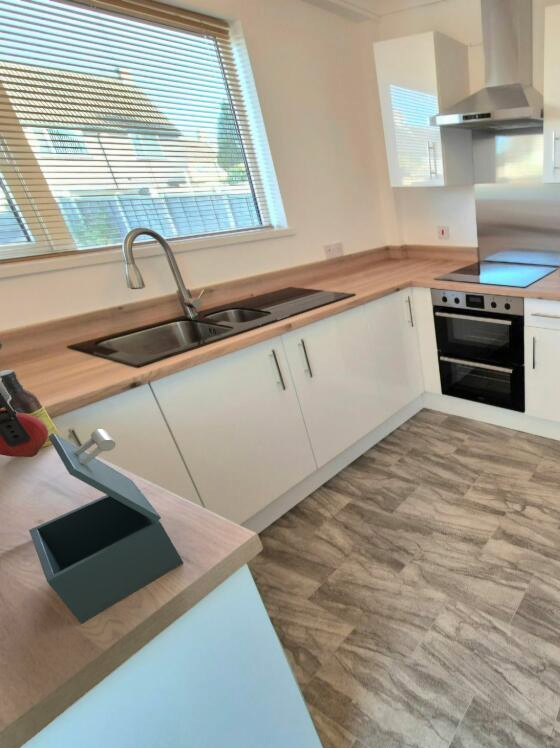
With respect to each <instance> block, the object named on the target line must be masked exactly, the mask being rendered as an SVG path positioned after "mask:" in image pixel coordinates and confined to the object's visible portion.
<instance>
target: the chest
mask: <svg viewBox="0 0 560 748" xmlns="http://www.w3.org/2000/svg"><path fill="white" fill-rule="evenodd" d="M28 531H29V533H30V536H31V537H30V538H31V540H32V542H33V545H34V548H35V551H36V554H37V557H38V560H39V563H40V566H41V568H42V571H43V574H44V577H45V580H46V582H47V584H48V585H49V586H50V587H51V589H52V590H53V591H54V592H55V593H56V595H57V596H58V598H59V599H60V600H61V601H62V602H63V604H64V605H65V606H66V607H67V609H68V610H69V611H70V612H71V614H72V615H73V616H74V618H76V620H77V621H78V623H80V625H82V624H84V623H86V622H88V621H89V620H90V619H92V618H94V617H96V616H97V615H99V614H101V613H102V612H104V611H106V610H108V609H109V608H111V607H112V606H114V605H116V604H117V603H119V602H121V601H123V600H124V599H126V598H128V597H129V596H131V595H132V594H133V595H134V593H136V592H138V591H139V590H141V589H143V588H144V587H146V586H148V585H149V584H151V583H152V582H154V581H156V580H158V579H159V578H161V577H163V576H164V575H166V574H168V573H169V572H171V571H173V570H174V569H176V568H178V567H179V566H181V565H183V564H184V561H183V559H182V557H181V555H180V554H179V552H178V550H177V549H176V547H175V545H174V544H173V542H172V539H171V538H170V536H169V534H168V533H167V531H166V530H165V528H164V526H163V524H162V523H161V521H160V520H159V521H157V522H155V521H154V520H152V519H150V518H148V517H146V516H145V515H143V514H141V513H139V512H137V511H135V510H134V509H132V508H130V507H128V506H126V505H125V504H123V503H121V502H119V501H117V500H116V499H114V498H112V497H110V496H108V495H106V494H105V495H103V496H101V497H99V498H97V499H95V500H92V501H90V502H88V503H86V504H83V505H81V506H79V507H77V508H75V509H73V510H71V511H67V512H66V513H64V514H61V515H59V516H56V517H55V518H52V519H50V520H48V521H46V522H44V523H41V524H39V525H37V526H35V527H33V528H30V529H29V530H28Z"/></svg>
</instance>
